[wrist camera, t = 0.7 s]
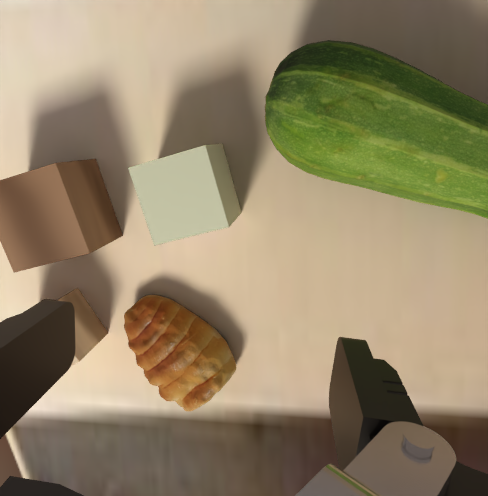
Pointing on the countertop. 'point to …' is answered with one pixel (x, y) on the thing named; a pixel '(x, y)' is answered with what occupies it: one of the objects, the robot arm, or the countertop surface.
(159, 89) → the countertop surface
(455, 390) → the countertop surface
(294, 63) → the vegetable
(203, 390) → the pastry
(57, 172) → the walnut block
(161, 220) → the sage cube
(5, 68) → the countertop surface
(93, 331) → the birch block
